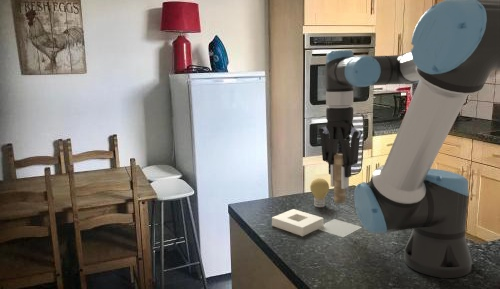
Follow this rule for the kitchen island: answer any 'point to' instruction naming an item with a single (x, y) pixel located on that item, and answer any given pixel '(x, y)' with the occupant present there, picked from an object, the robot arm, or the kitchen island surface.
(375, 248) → the kitchen island surface
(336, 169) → the dowel
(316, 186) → the light bulb
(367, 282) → the kitchen island surface
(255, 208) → the kitchen island surface
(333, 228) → the mat
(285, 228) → the hole block
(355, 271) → the kitchen island surface
